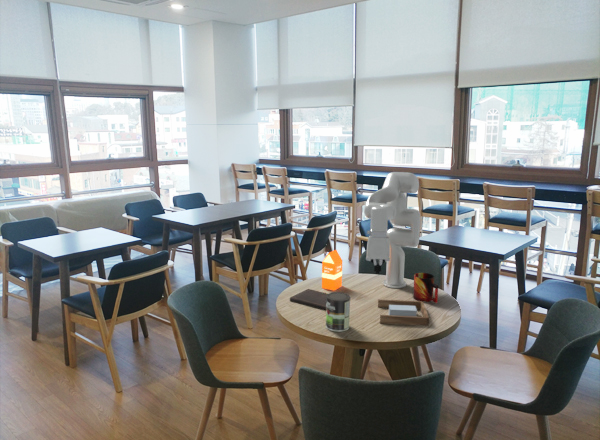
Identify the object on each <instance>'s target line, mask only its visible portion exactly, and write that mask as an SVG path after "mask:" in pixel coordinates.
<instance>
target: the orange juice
mask: <svg viewBox="0 0 600 440" xmlns="http://www.w3.org/2000/svg"><path fill="white" fill-rule="evenodd" d="M321 265H322V266H321V267H322V268H321V289H325V290H331V291H336V290H337V289H339V288H341V287H342V286H343V284H342V283H343V281H342V280H343V259H342V258H341V255H340V254H339V251H338V250H337V249H334V250H332V251H329V252H328V253H327V255H326V256H325V257H324V259H323V260H322V262H321Z"/></svg>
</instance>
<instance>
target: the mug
mask: <svg viewBox="0 0 600 440" xmlns="http://www.w3.org/2000/svg"><path fill="white" fill-rule="evenodd" d="M438 296H439V285H438V284H435V275H433V274H431V273H427V272H417V273H415V274H414V275H413V293H412V298H413V300H414V301H423V303H429V302H430V303H431V302H434V303H435V304H438Z"/></svg>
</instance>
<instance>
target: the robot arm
mask: <svg viewBox="0 0 600 440" xmlns="http://www.w3.org/2000/svg"><path fill="white" fill-rule="evenodd" d="M419 189H420V180H419V178H418V177H417V176H416V174H414V173H413V172H406V171H392V172H389V173H388V174H387V175H386V177H385V180H384V182H383V185H382V187H381V188H380V189H378V190H376V191H374V192H373V193H371V194H370V195H369V196H368V198H367V200H366V202H365V206H364V210H363V211H364V212H363V213H364V216H365V217H366V218H367V219H370V229H369V230H367V232H366V235H369V236H368V238H367V243H366V257H365V260H366V261H368V262H371V263H372V264H373V266H374V267H373V272H375V275H377V274H378V275H380V273H381V272H382V265H383V264H384V263H386V269H385V270H386V273H385V279H384V280H383V281H382V284H383V286H385V287H387V288H390V289H391V288H392V289H401V288H402V289H403V288H405V287H406V286H407V282H406V281H404V280H405V279H404V277H405V259H406V257H405V256H406V254H405V250H403V248H402V247H406V248H417V247H418V246H419V243H420V234H421V213H420V211H419V210H418V209H415V208H408V207H407V206H408V198H407V196H406V195H405V194H416V193H417V192H418V190H419ZM388 222H389V223H390V224H391V225H392V226H397V227H392V228H391V227H390V228H389V229H388ZM398 226H399V227H401V228H399V227H398ZM402 227H408V228H402ZM409 228H410V229H409ZM377 261H378V262H377Z"/></svg>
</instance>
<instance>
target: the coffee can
mask: <svg viewBox="0 0 600 440" xmlns="http://www.w3.org/2000/svg"><path fill="white" fill-rule="evenodd" d="M350 306H351V295H350V294H348V293H346V292H341V291H333V292H329V293H327V295H326V311H325V312H326V313H325V328H326V329H327V330H328V331H332V332H335V333H336V332H337V333H340V332H345V331H348V330H349V328H350V308H351V307H350Z"/></svg>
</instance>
